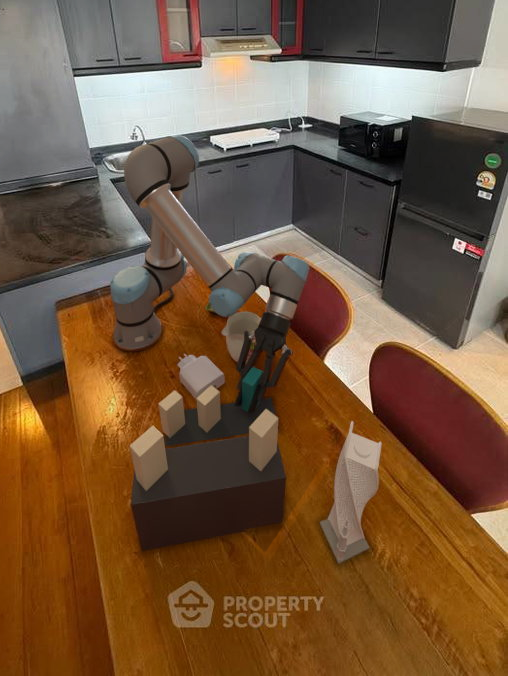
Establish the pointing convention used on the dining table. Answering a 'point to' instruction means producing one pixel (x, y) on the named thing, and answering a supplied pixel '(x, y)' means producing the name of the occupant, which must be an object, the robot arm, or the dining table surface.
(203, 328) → the dining table surface
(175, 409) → the dark grey block
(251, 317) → the pitcher
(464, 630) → the dining table surface
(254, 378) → the upright teal pillar
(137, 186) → the robot arm
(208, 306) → the green square dish
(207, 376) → the charger
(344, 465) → the skyscraper
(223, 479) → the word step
